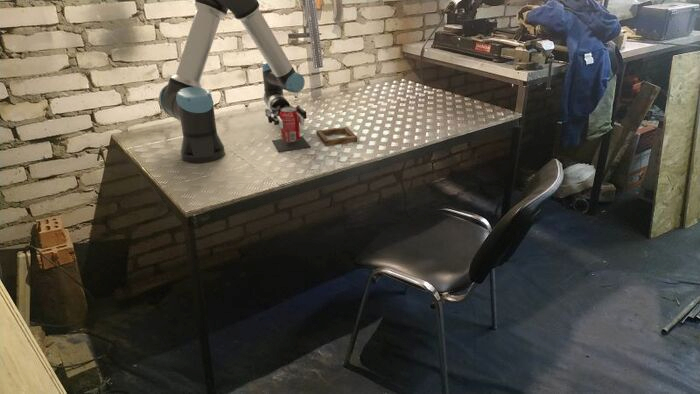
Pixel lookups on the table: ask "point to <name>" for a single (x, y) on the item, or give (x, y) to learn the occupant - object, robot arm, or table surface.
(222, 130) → the table surface
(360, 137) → the table surface
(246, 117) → the table surface
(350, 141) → the holder
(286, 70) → the robot arm
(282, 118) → the soda can
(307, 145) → the mat
